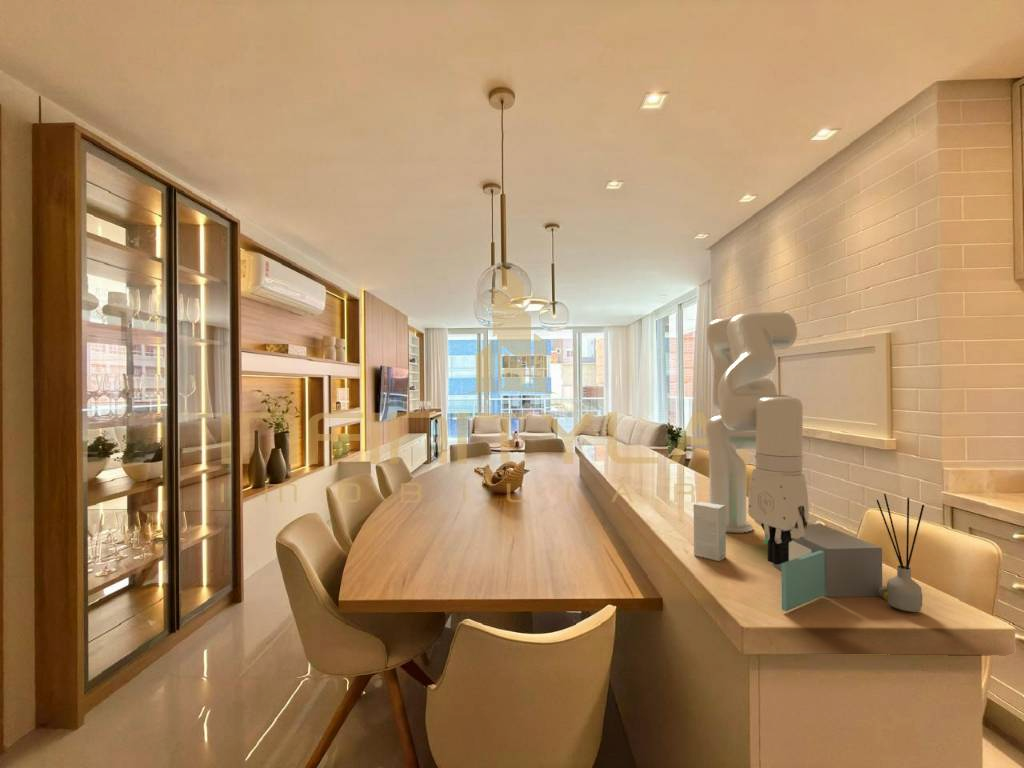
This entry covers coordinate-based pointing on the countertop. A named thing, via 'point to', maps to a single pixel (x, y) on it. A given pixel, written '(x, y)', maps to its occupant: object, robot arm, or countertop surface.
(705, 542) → the skincare box
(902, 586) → the reed diffuser
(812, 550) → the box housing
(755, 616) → the countertop surface
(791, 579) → the side door
